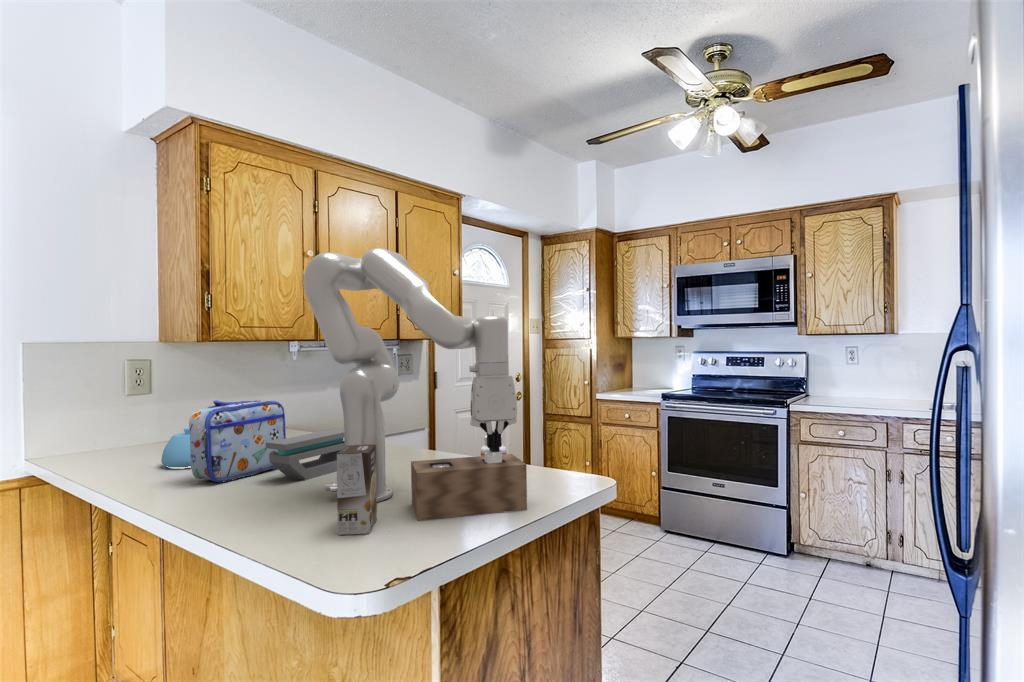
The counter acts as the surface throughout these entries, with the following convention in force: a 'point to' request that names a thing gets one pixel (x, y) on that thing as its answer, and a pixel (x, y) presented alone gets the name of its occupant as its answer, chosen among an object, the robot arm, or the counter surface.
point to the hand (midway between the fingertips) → (494, 450)
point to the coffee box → (356, 489)
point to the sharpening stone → (307, 454)
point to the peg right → (493, 456)
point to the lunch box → (234, 438)
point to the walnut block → (467, 487)
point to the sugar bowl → (177, 451)
